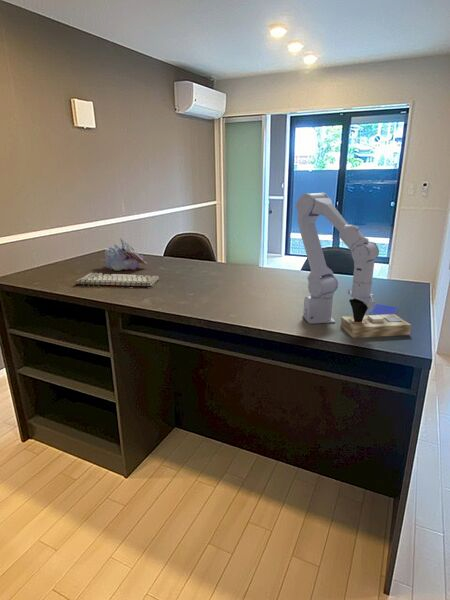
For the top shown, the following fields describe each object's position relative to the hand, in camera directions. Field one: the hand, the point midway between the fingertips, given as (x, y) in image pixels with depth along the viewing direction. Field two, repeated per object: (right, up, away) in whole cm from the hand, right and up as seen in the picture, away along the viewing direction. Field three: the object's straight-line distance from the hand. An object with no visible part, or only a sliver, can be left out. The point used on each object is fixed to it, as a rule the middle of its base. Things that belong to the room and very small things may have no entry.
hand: (357, 321), depth 126 cm
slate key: (+12, -1, +2) cm, 12 cm away
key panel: (+6, -3, +2) cm, 7 cm away
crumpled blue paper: (-99, +24, +88) cm, 134 cm away
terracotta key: (0, -2, +1) cm, 2 cm away
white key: (+6, -1, +1) cm, 6 cm away
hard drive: (+16, +2, +18) cm, 24 cm away
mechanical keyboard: (-95, +15, +60) cm, 113 cm away
